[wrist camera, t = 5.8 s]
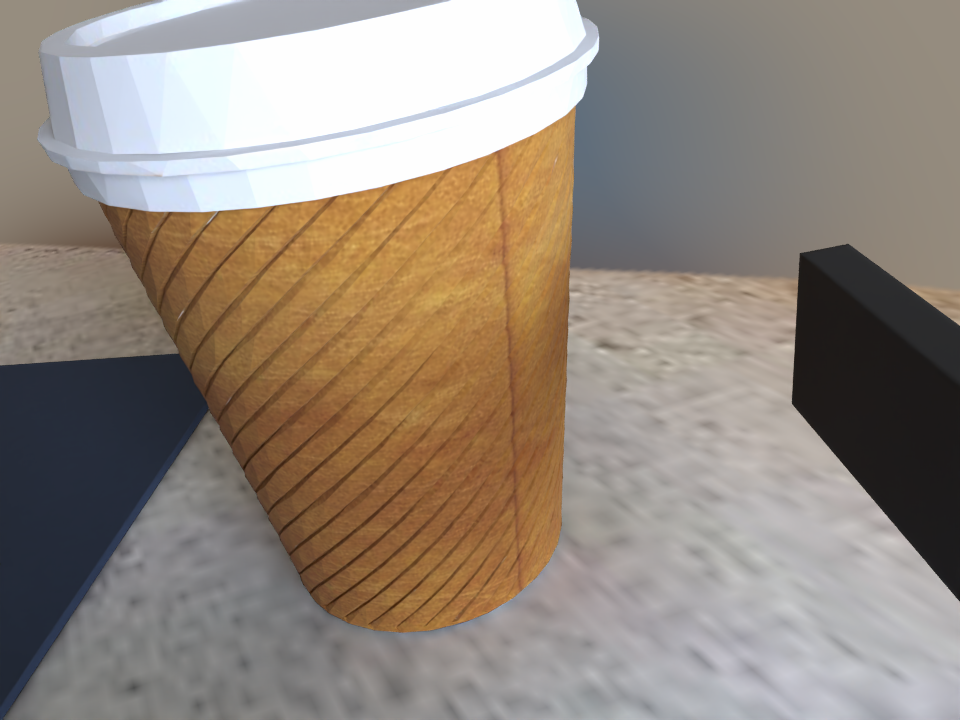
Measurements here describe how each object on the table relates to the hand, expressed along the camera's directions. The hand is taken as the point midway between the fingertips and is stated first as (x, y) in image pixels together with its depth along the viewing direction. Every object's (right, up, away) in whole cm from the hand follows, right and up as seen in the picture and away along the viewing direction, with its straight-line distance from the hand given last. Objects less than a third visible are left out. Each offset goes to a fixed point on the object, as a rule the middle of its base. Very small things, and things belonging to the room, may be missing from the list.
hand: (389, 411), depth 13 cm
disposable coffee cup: (0, -3, +7) cm, 8 cm away
